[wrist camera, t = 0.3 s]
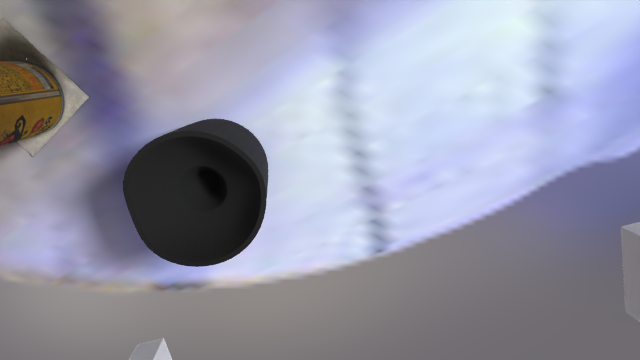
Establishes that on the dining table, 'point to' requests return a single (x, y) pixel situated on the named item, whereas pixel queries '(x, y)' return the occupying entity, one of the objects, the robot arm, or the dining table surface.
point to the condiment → (32, 93)
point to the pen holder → (198, 192)
